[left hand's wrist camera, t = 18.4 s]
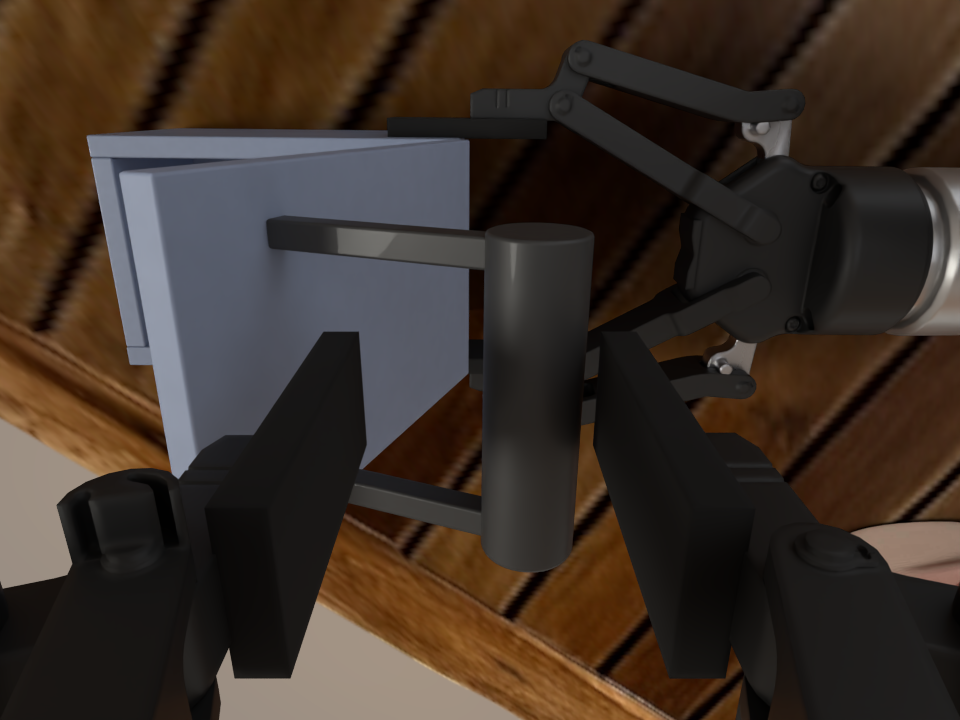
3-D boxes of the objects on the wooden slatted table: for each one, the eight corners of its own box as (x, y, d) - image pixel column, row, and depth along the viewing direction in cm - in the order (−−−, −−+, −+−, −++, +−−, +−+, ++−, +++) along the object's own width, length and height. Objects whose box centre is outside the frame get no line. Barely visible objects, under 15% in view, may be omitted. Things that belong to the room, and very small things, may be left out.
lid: (191, 589, 16) (525, 699, 13) (115, 171, 12) (549, 196, 10) (450, 370, 29) (644, 401, 26) (449, 139, 26) (671, 146, 23)
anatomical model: (792, 696, 43) (844, 548, 38) (767, 649, 46) (812, 509, 42) (993, 711, 43) (1065, 565, 39) (952, 663, 47) (1014, 525, 43)
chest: (205, 309, 38) (129, 365, 29) (179, 128, 34) (85, 135, 26) (464, 311, 38) (460, 368, 30) (464, 131, 34) (460, 139, 26)
